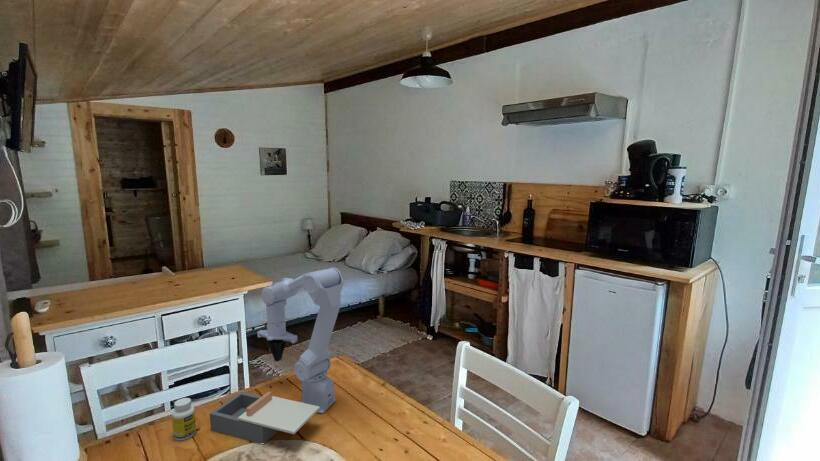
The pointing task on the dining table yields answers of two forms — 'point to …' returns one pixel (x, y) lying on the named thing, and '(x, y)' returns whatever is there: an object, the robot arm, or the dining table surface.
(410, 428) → the dining table surface
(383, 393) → the dining table surface
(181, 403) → the supplement bottle
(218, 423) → the gray open box
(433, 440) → the dining table surface
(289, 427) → the lid
